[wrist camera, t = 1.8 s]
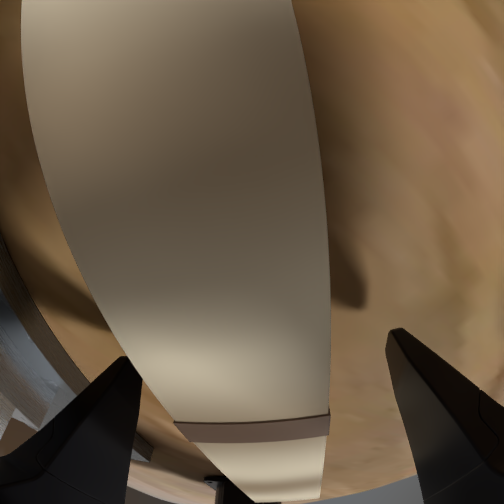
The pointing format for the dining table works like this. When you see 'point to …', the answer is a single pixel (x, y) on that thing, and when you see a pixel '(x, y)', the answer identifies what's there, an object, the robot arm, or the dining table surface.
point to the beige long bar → (196, 214)
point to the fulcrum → (35, 361)
